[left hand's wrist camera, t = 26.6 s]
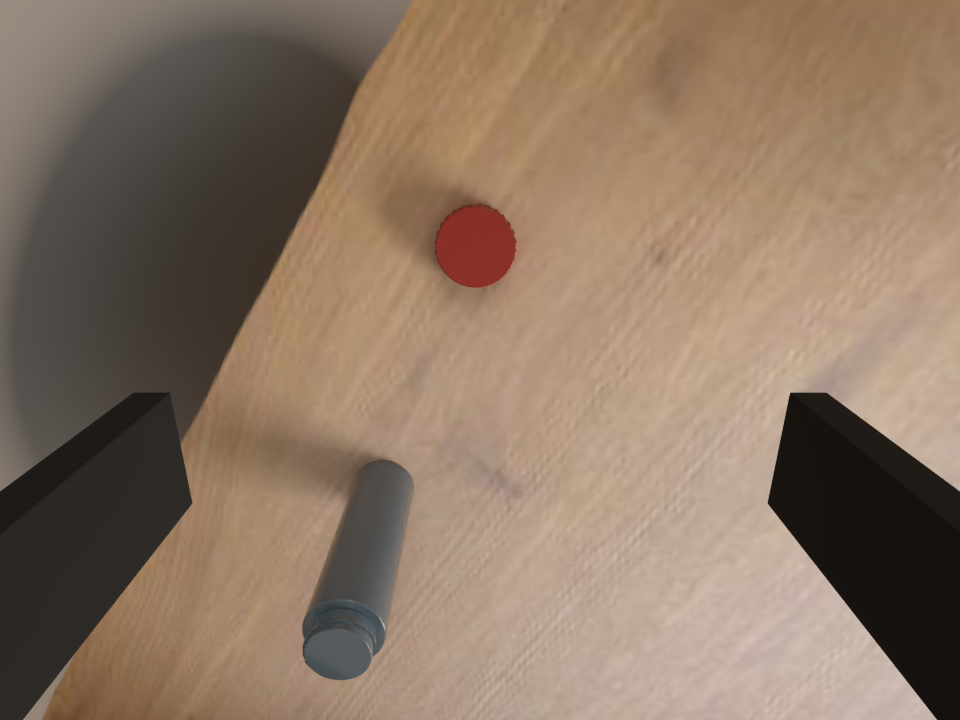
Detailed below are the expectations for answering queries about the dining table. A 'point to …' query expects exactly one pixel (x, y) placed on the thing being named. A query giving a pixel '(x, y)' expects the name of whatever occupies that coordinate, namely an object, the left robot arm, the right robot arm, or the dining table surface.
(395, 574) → the grey bottle
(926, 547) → the left robot arm
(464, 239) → the lid
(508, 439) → the dining table surface
